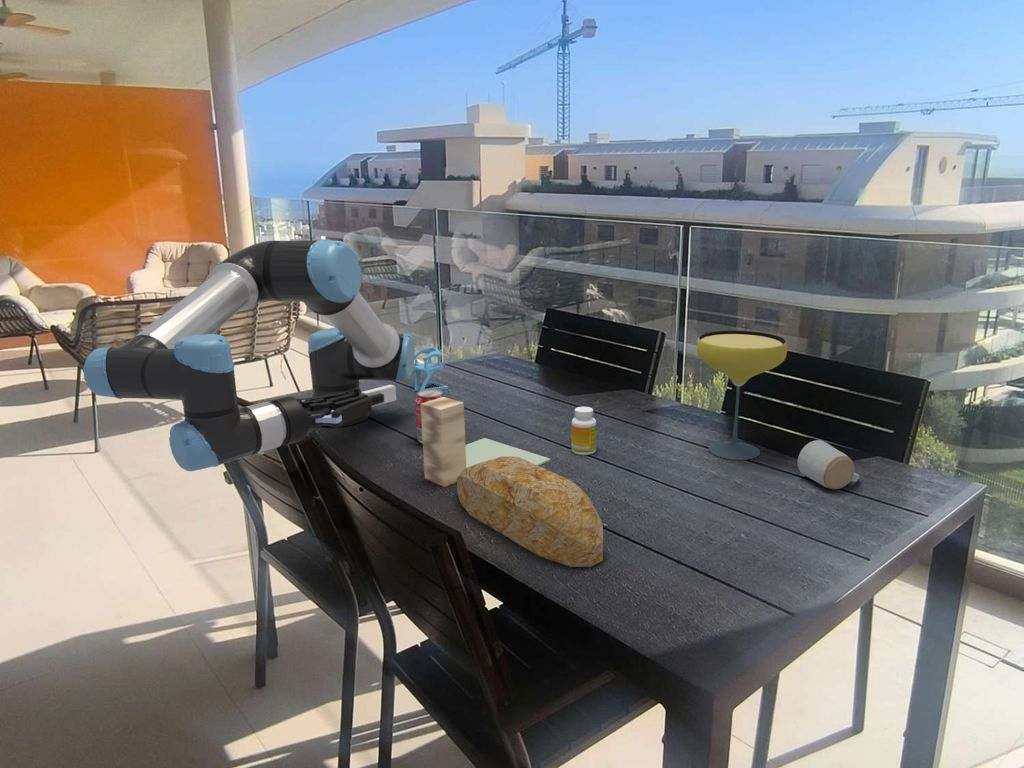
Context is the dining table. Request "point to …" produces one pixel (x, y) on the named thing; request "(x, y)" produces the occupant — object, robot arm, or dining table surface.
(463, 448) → the beech block
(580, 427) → the supplement bottle
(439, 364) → the chair
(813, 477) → the ceramic mug
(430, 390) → the soda can
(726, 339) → the cocktail glass
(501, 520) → the bread
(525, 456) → the green mat
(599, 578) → the dining table surface
